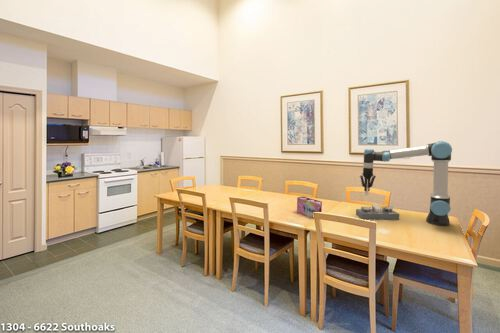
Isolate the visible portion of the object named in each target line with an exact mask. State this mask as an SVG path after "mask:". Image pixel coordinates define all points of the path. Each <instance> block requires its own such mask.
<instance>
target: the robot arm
mask: <svg viewBox="0 0 500 333" xmlns="http://www.w3.org/2000/svg"><path fill="white" fill-rule="evenodd" d="M452 151H453V148H452V145H451V144H450V143H449V142H447V141H443V140H441V141H440V140H439V141H437V142H433V143H427V144H426V145H421V146H413V147H407V148H406V147H405V148H398V149H391V150H382V151H375V150H374V149H373V148H371V149H370V148H365V149H364V152H363V168H362V174H361V175H359V178H360V182H361V186H362V187H363V188H364V190H363V191H364V195H365V196H369V192H370V190H371V188H372V187H373V186H374V181H375V179H376V175H374V162H390V160H395V159H403V158H404V159H406V158H413V157H421V156H427V157H431V161H432V162H433V177H432V178H433V187H432V188H433V189H432V194H431V195H430V202H429V212H428V213H427V217H426V218H425V222H426V223H428V224H431V225H433V226H434V225H435V226H441V227H447V226H450V219H449V218H450V217H449V215H448V214H449V213H450V211H451V196H449V195H448V193H449V192H448V190H449V187H448V186H449V185H448V184H449V162H451V160H452V153H453V152H452Z"/></svg>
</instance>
